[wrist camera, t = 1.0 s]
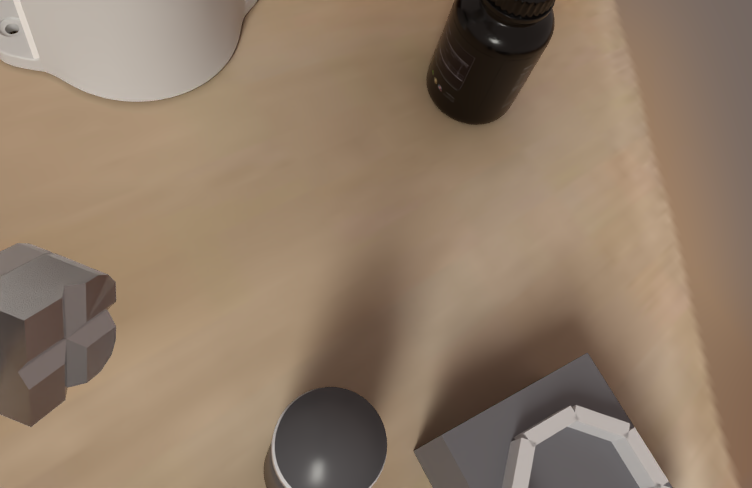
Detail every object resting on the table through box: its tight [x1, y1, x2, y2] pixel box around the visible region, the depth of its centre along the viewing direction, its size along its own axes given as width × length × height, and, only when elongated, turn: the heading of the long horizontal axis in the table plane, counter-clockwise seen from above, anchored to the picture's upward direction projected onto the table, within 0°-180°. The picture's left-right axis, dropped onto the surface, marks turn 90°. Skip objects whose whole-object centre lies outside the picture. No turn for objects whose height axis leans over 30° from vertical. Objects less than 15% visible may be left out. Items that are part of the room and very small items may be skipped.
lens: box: [264, 387, 387, 488], centre depth 36 cm, size 5×5×10 cm
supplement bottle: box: [427, 0, 555, 125], centre depth 48 cm, size 7×7×12 cm
